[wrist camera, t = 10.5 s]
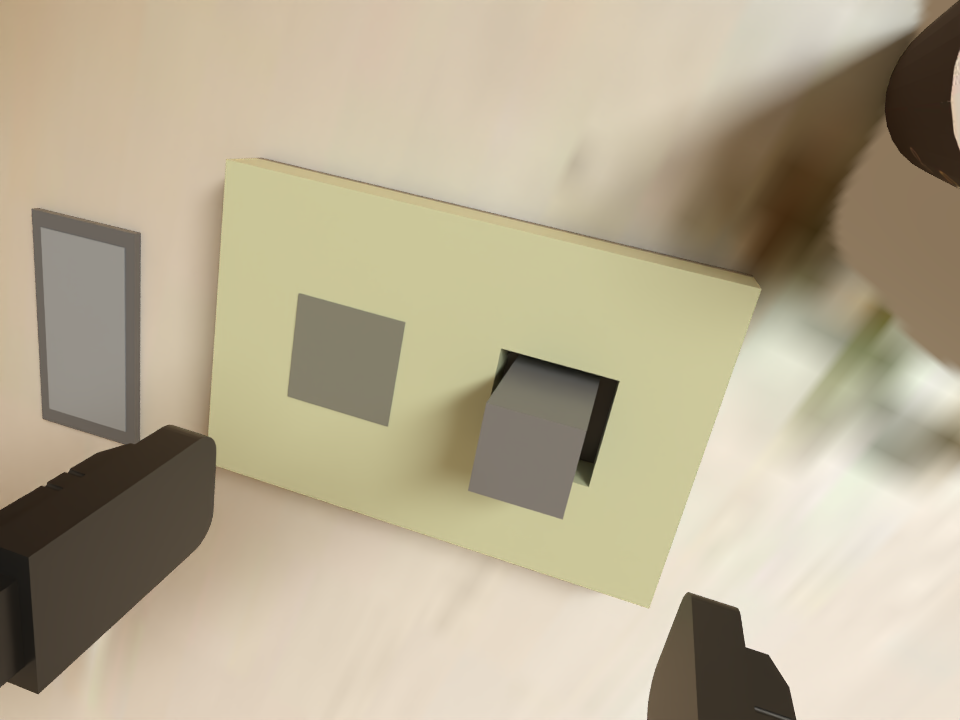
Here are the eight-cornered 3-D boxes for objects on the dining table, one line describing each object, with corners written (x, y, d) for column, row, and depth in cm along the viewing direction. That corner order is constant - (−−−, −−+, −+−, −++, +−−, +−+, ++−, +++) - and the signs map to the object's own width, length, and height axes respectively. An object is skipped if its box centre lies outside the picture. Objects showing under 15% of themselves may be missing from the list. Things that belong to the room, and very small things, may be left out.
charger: (520, 352, 33) (486, 402, 27) (601, 373, 32) (586, 431, 26) (504, 426, 35) (467, 492, 28) (581, 448, 34) (562, 521, 27)
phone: (46, 207, 39) (30, 208, 38) (147, 231, 38) (133, 233, 37) (55, 412, 43) (41, 419, 42) (146, 440, 42) (133, 447, 41)
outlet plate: (261, 157, 34) (225, 159, 31) (752, 275, 30) (761, 289, 27) (238, 440, 40) (205, 463, 37) (649, 572, 35) (648, 609, 33)
